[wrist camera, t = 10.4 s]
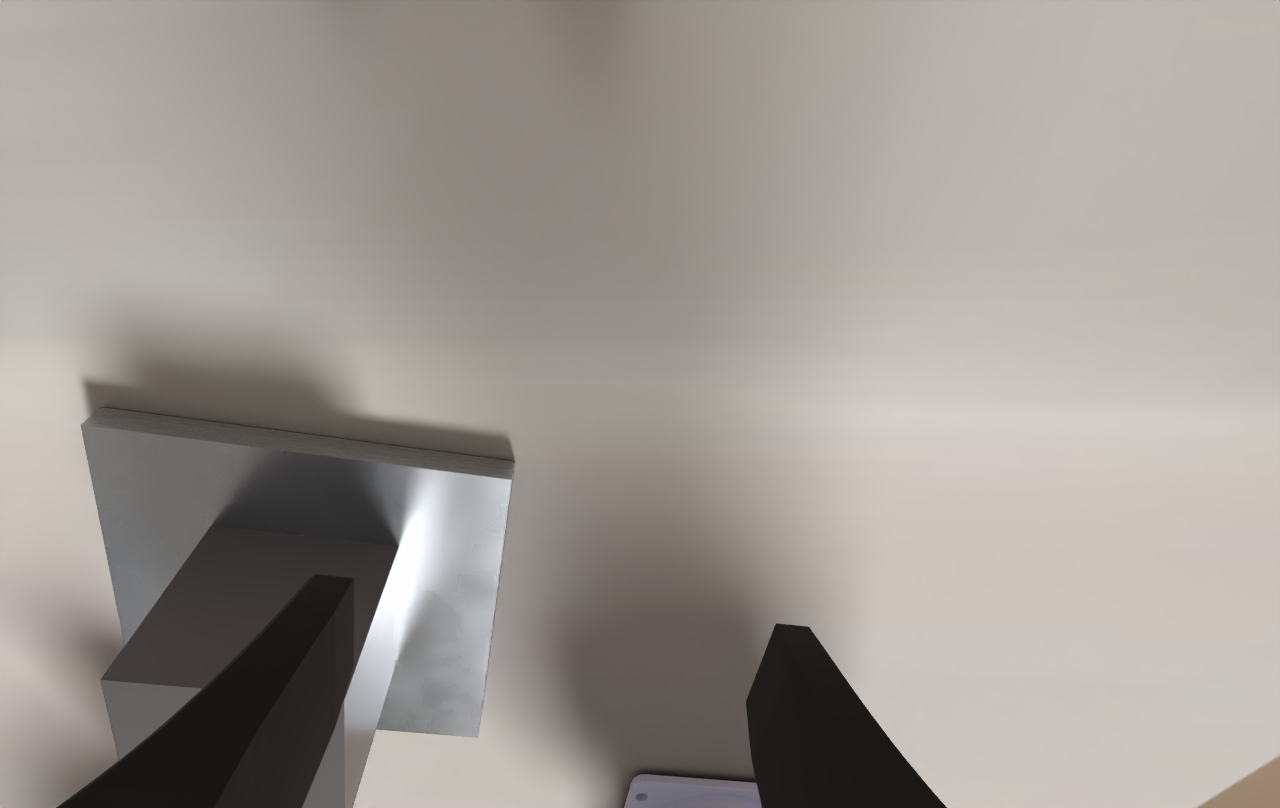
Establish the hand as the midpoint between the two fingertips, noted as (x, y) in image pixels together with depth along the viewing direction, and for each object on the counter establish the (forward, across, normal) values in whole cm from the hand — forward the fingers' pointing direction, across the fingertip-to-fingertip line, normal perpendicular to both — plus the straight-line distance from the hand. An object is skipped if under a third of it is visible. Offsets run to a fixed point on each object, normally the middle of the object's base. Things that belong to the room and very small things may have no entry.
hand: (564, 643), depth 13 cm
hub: (+10, +8, +10) cm, 16 cm away
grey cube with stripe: (+9, +8, +9) cm, 15 cm away
